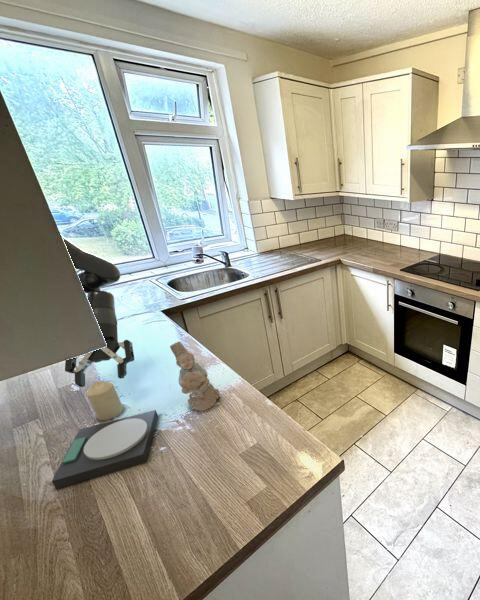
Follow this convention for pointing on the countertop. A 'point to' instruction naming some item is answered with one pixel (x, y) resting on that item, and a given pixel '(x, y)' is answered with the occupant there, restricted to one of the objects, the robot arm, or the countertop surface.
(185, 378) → the figurine
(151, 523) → the countertop surface
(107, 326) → the robot arm
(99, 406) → the candle
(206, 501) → the countertop surface
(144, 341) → the countertop surface
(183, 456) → the countertop surface
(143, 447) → the kitchen scale
